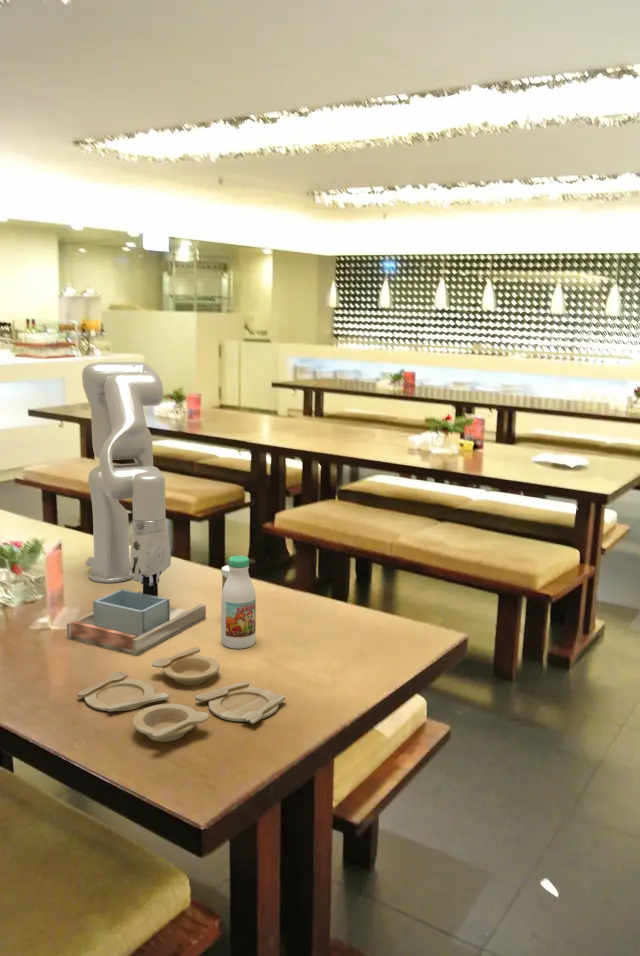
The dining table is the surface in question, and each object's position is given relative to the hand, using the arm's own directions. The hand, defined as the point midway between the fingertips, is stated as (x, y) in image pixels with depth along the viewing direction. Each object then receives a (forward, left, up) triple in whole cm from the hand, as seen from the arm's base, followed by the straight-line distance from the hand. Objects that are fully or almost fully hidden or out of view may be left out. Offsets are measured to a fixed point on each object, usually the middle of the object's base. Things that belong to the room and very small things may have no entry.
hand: (150, 599), depth 198 cm
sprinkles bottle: (+16, +11, -6) cm, 20 cm away
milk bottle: (+25, 0, -6) cm, 26 cm away
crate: (0, -7, -5) cm, 8 cm away
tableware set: (+31, -30, -6) cm, 44 cm away
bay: (0, -4, -6) cm, 7 cm away
